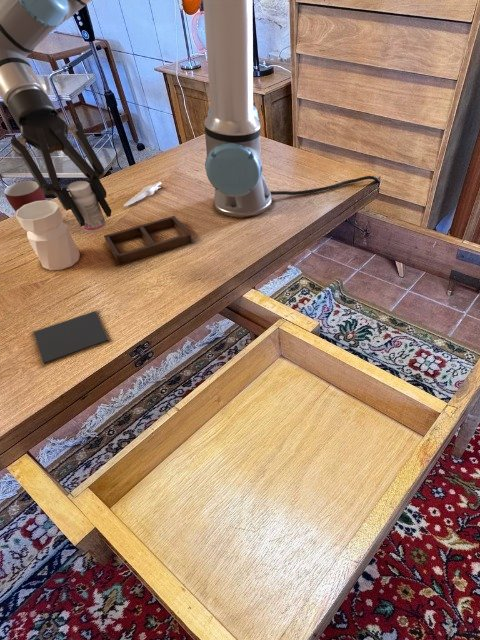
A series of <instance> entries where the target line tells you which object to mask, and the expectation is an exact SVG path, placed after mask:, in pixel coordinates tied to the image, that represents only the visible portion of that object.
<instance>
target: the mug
mask: <svg viewBox="0 0 480 640" xmlns="http://www.w3.org/2000/svg"><path fill="white" fill-rule="evenodd" d="M3 194H4V196H5V198H6V200H7V202H8V204H9V205H10V206H11V208H12V209H13V211H14V212H15V213H16V212H17V210H18V209H20V208H21V207H22V206H24V205H26V204H29V203H32V202H35V201H44V200H47V199H46V195H45V194H43V192H42V190H41V189H40V187H39V185H38V184H37V182H36V180H23V181H19V182H15V183H11V184H10V185H8V186H7V187H5V188H4V189H3Z"/></svg>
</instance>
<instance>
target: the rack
mask: <svg viewBox="0 0 480 640" xmlns="http://www.w3.org/2000/svg"><path fill="white" fill-rule="evenodd" d="M173 226H174V227H175V229H176V230H177V232H179V233H180V235H179V236H174V237H170V238H168V239H165V240H162V241H158V242H155V241H154V240H153V238H152V237H151V236H150V233H153V232H157V231H160V230H164V229H166V228H170V227H173ZM188 231H189V230H187V229H186V228H185V227H184V225H183V223H181V222H180V221H179V219H178V218H177V217H176V216H175V215H171V216H168V217H164V218H161V219H157V220H154V221H149V222H147V223H143V224H139V225H137V226H133V227H129V228H126V229H122V230H120V231H115V232H111V233H107V234H104V235H103V238H104V241H105V243H106V245H107V247H108V249H109V250H110V252H111V253H112V255H113V257H114V259H115V261H116V262H117V264H118V265H119V266H120V265H123V264H126V263H129V262H133V261H136V260H140V259H143V258H146V257H150V256H152V255H156V254H159V253H162V252H165V251H168V250H171V249H175V248H178V247H182V246H185V245H188V244H191V243H193V239H192V236H191V234H190V232H188ZM139 236H141V237H142V238H143V240H144V241H145V242H146V244H147V245H145V246H141V247H138V248H135V249H131V250H128V251H125V252H121V253H119V251H118V249H117V248H116V246H115V243H118V242H122V241H125V240H129V239H132V238H133V239H134V238H136V237H139Z"/></svg>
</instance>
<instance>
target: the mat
mask: <svg viewBox="0 0 480 640" xmlns="http://www.w3.org/2000/svg"><path fill="white" fill-rule="evenodd" d="M33 334H34V337H35V341H36V344H37V347H38V350H39V353H40V357H41V360H42V364H43V365H46V364H49V363H52V362H54V361H57V360H60V359H62V358H63V359H64V358H65V357H68V356H72V355H74V354H76V353H79V352H82V351H84V350H88V349H90V348H93V347H96V346H99V345H102V344H105V343H107V342H110V340H109V338H108V335H107V333H106V332H105V330H104V327H103V325H102V322H101V320H100V318H99V316H98V313H97V312H96V311H95V310H94V311H91V312H89V313H86V314H83V315H80V316H77V317H76V316H75V317H73V318H71V319H68V320H64V321H62V322H59V323H56V324H52V325H50V326H47V327H44V328H40V329H38V330H35V331H33Z"/></svg>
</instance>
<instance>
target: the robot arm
mask: <svg viewBox="0 0 480 640" xmlns="http://www.w3.org/2000/svg"><path fill="white" fill-rule="evenodd" d="M92 1H93V0H0V98H1V100H2V101H3V103H4V105H5V106H6V107H7V109H8V111H9V114H10V115H11V117H12V118H13V119H14V122H15V123H16V125H17V127H18V128H19V130H20V136H18V137H17V138H15V137H12V138H10V143H11V147H12V150H13V151H14V152H15V154H17V155H18V156H19V157H20V158H21V160H23V163H24V164H25V166H26V167H27V169H28V171H29V172H30V174H31V176H32V177H33V179H34V181H35V182H37V184H38V185H39V187H40V189H41V190H42V192H43V194H44V195H45V196H49V195H54V196H55V197H56V198H57V199H58V201H59V203H60V205H61V206H62V208H63V209H64V210H65V211H66V212H67V211H71V212H72V214H73V216H74V217H75V219H76V221H77V223H78V224H79V226H80V227H81V228H82V226H84V225H85V219H84V218H83V216H82V214H81V213H80V211H79V209H78V208H77V206H76V204H75V203H74V201H73V199H72V197H71V195H70V193H69V190H68V188H67V187H66V186H65V187H63V188H62V187H61V184H60V181H59V178H58V174H57V172H56V168H55V165H54V161H53V159H52V155H51V154H53V153H54V152H60V151H61V152H62V153H63V154H64V155H65V156H66V157H68V158H69V159H70V161H72V163H73V164H74V165H75V167H77V168H78V169H79V170H80V172H81V173H82V174H83V175H84V176H85V177H86V178H87V179H88V181H89V182H88V183H89V185H90V187H91V190H92V192H93V193H94V194H95V195H96V197H97V200H98V203H99V205H100V208H101V210H102V211H103V213H104V214H105V216H106V217H107V218H110V217H111V216H112V211H113V210H112V209H111V207H110V205H109V204H108V202H107V200H106V198H107V191H106V189H105V187H104V185H103V184H102V182H101V179H103V178H104V176H105V167H104V166H103V164H102V162H101V161H100V159H99V157H98V155H97V154H96V152H95V150H94V148H93V147H92V145H91V143H90V142H89V140H88V138H87V136H86V134H85V131H84V126H83V123H82V122H81V121H76V122H75V124H74V123H73V124H72V123H67V121H65V120H64V119H63V118H62V117H61V116H60V114H59V113H58V110H57V108H55V106H54V104H53V102H52V100H51V99H50V96H48V94H47V93H46V91H45V88H44V86H43V85H42V83H41V82H40V80H39V78H38V76H37V74H36V73H35V72H34V70H33V68H32V66H31V64H30V62H29V60H28V56H29V55H30V54H31V53H32V52H33V51H35V49H36V47H38V46H39V45H40V44H41V43H42V41H44V40H45V39H46V38H47V37H48V36H49V35H50V34H51V33H52V32H54V30H56V29H57V28H58V27H60V26H61V25H62V24H63V23H64V22H66V21H68V20H69V19H70V18H72V17H74V15H75V14H76V13H77V12H79V11H80V10H81V9H83V8H84V7H85V6H86V5H88V4H89V3H90V2H92ZM202 2H203V3H202V4H203V18H204V19H203V21H204V33H205V45H206V61H207V74H208V76H207V77H208V91H209V104H210V105H209V106H210V108H209V109H208V110H207V116H206V118H205V119H204V121H203V125H204V136H205V138H204V139H205V150H206V158H205V162H204V168H205V173H206V177H207V179H208V181H209V183H210V185H211V186H212V187H213V188H214V197H213V199H214V201H213V202H214V208H215V210H216V211H217V212H218V213H219V214H221V215H223V216H226V217H229V218H236V219H237V218H238V219H239V218H240V219H241V218H251V217H255V216H259V215H262V214H263V213H265V212H266V211H268V210H270V208H271V207H272V204H273V203H272V202H273V201H272V196H279V195H282V196H283V195H284V196H285V195H287V196H298V195H306V194H313V193H317V192H323V191H329V190H332V189H335V188H339V187H342V186H345V185H348V184H354V183H357V182H361V181H362V182H363V181H366V180H373V181H375V182H376V183H381V179H379V178H378V177H376V176H373V175H365V176H361V177H358V178H357V177H356V178H353V179H347V180H343V181H341V182H338V183H335V184H331V185H327V186H323V187H317V188H313V189H312V188H311V189H305V190H296V191H295V190H294V191H291V190H275V191H274V190H271V191H270V188H269V185H268V183H267V180H266V178H265V175H264V172H263V159H262V149H261V122H260V118H259V113H258V109H257V107H256V106H255V105H254V46H253V45H254V37H253V36H254V35H253V34H254V31H253V30H254V27H253V25H254V24H253V17H254V15H253V11H254V10H253V0H202ZM69 133H70V134H71V135H72V137H73V138H74V139H77V143H78V145H79V147H80V148H81V150H82V151H83V153H84V155H85V157H86V158H87V161H88V162H89V163H88V162H87V161H86V160H85V159H84V157H83V156H82V155H81V154H80V153H79V152H78V151H77V149H76V148H75V147H74V146H73V145H72V143H71V141H70V140H69V139H68V135H69ZM28 145H30V146H32V147H33V148H35V149H36V150H38V151H40V154H41V157H42V160H43V164H44V166H45V168H46V172H47V175H48V177H49V178H48V179H49V181H50V184H49V183H48V182H47V180H46V178H45V176H44V175H43V174H42V172H41V170H40V168H39V167H38V165H37V163H36V162H35V160H34V158H33V157H32V155H31V154H30V152H29V147H28Z"/></svg>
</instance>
